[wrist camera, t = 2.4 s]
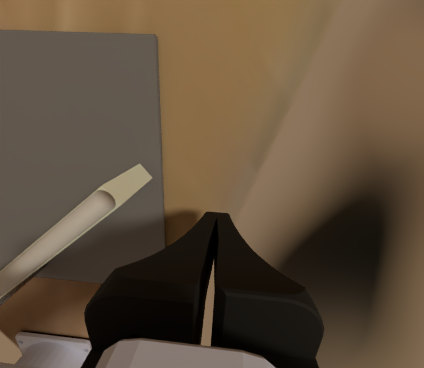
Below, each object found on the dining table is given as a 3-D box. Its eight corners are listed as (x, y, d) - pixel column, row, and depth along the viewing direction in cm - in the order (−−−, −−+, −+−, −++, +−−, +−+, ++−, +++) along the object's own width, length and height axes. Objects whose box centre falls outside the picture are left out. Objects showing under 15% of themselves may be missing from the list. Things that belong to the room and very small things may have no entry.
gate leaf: (46, 260, 16) (-29, 321, 11) (34, 249, 16) (-48, 308, 11) (152, 177, 13) (108, 216, 8) (139, 163, 13) (86, 194, 8)
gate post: (54, 266, 17) (-26, 336, 12) (32, 263, 17) (-57, 332, 12) (48, 247, 17) (-39, 312, 11) (26, 244, 17) (-72, 309, 11)
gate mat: (167, 286, 17) (165, 290, 17) (-7, 268, 18) (-12, 271, 18) (157, 37, 11) (154, 34, 10) (-107, 28, 12) (-118, 26, 11)
